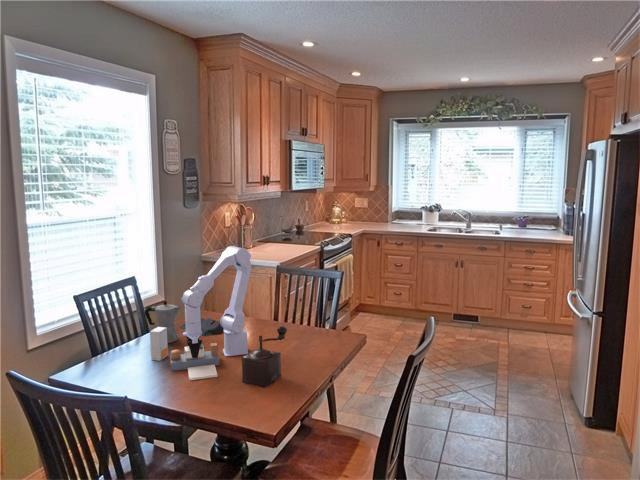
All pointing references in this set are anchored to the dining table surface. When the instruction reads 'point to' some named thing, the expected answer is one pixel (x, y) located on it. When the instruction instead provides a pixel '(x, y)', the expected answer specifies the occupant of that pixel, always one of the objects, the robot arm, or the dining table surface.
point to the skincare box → (158, 343)
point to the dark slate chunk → (208, 327)
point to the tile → (202, 372)
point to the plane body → (181, 363)
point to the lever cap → (189, 356)
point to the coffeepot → (165, 319)
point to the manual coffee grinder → (263, 363)
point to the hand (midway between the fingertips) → (194, 355)
